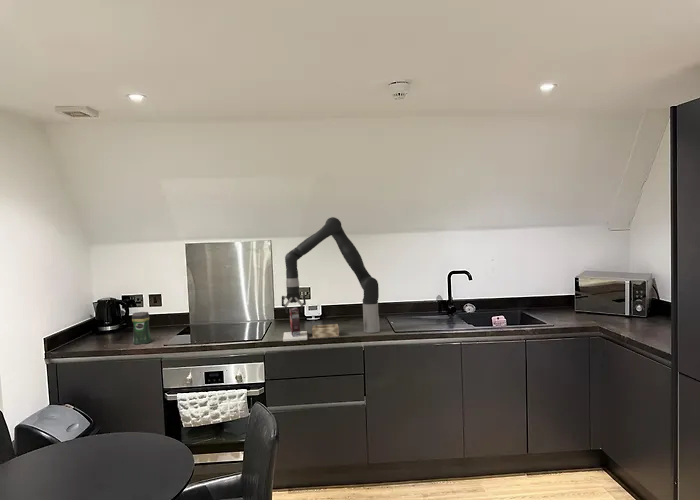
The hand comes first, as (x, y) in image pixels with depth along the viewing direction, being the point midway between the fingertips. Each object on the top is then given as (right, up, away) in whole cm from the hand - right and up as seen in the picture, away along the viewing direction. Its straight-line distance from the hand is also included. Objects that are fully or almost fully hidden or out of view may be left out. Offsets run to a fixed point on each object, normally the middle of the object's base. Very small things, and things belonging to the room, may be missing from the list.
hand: (294, 312), depth 314 cm
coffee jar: (-91, -19, +2) cm, 93 cm away
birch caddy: (+19, -14, +2) cm, 23 cm away
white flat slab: (+1, -14, +1) cm, 15 cm away
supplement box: (+1, -14, +1) cm, 14 cm away
